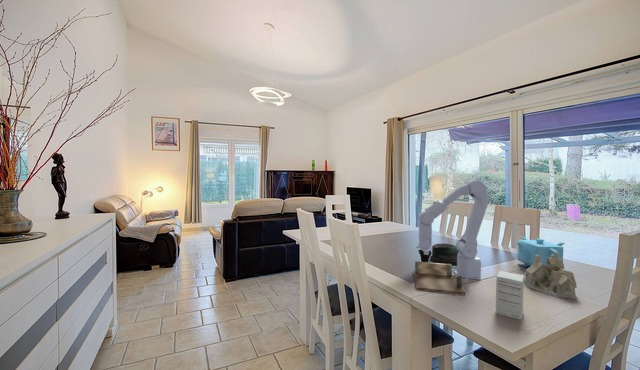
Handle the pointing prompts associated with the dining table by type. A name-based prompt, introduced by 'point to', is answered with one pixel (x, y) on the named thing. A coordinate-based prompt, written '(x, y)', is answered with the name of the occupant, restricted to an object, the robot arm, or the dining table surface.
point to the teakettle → (537, 250)
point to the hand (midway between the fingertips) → (424, 265)
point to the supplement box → (509, 294)
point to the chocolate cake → (444, 254)
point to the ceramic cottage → (551, 277)
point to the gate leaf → (433, 268)
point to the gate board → (439, 283)
